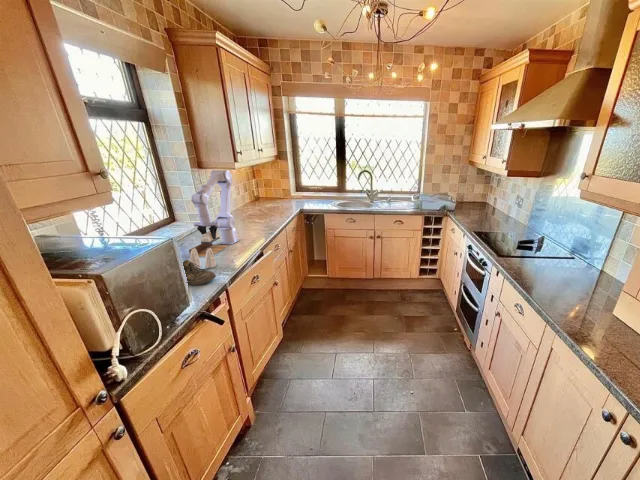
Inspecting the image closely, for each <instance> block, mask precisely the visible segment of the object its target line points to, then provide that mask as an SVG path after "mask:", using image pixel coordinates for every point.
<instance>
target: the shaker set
mask: <svg viewBox="0 0 640 480" xmlns="http://www.w3.org/2000/svg"><path fill="white" fill-rule="evenodd" d="M193 248H194V247H193ZM191 249H192V248H191ZM189 256H190V257H189V261H190V262H192V263H194V265H195V264H197V265H199V266H201V267H202V266H203V265H202V263H201V259H200V256H198V253H197V250H196V249H195V248H194V250H193V249H192V250H191V254H190V253H189ZM216 262H217V261H216V259H215V254H214V255H213V252H212V250H211V248H209V249H207V252H206V256H205V266H204V269H209V268H211V269H212V268H215V267H216V266H217V263H216ZM197 265H195V266H196V267H198V268H200V269H201V267H199V266H197ZM195 266H194V267H195Z"/></svg>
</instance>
